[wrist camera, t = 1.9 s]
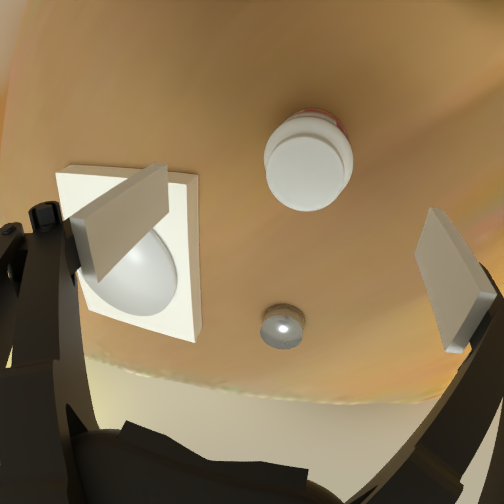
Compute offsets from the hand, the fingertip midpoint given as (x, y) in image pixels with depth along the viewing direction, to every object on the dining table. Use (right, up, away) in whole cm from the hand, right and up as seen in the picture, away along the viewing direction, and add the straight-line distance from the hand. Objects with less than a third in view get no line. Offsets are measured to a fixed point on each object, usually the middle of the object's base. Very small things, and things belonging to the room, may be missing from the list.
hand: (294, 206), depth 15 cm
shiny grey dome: (+2, -10, +24) cm, 27 cm away
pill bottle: (+4, +8, +13) cm, 15 cm away
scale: (-17, -2, +24) cm, 29 cm away
